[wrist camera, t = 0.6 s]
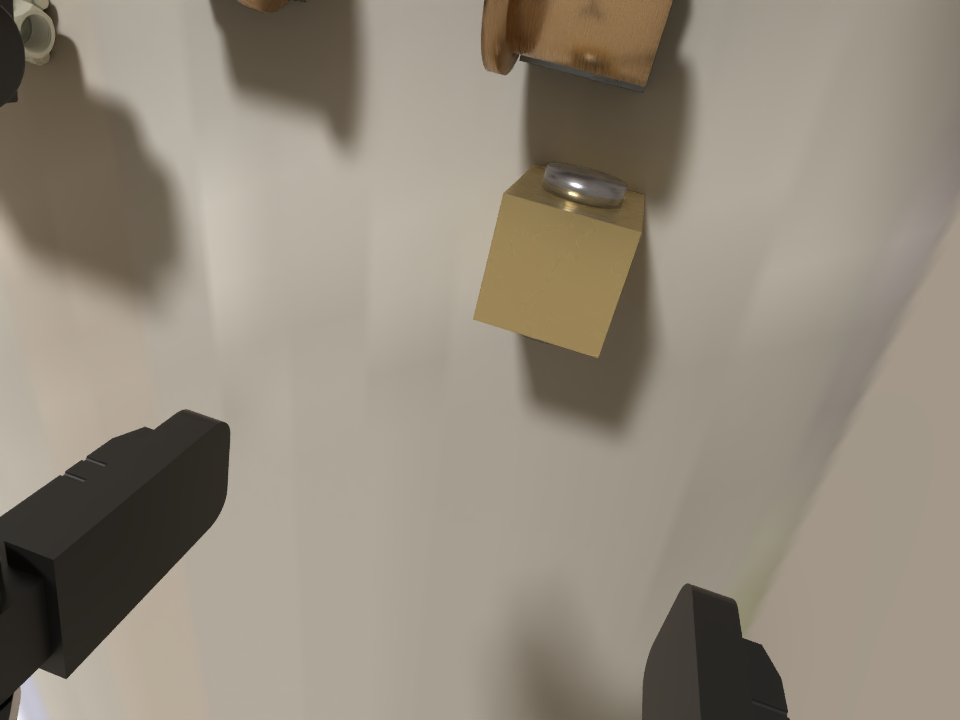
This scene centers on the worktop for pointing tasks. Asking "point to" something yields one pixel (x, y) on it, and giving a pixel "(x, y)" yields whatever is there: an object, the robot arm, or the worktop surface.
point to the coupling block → (561, 256)
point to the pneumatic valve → (22, 42)
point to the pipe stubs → (566, 36)
